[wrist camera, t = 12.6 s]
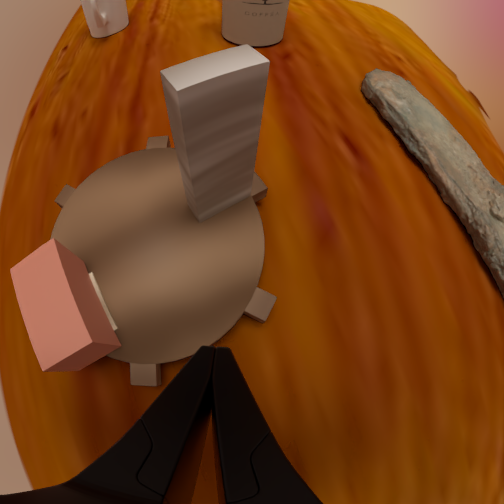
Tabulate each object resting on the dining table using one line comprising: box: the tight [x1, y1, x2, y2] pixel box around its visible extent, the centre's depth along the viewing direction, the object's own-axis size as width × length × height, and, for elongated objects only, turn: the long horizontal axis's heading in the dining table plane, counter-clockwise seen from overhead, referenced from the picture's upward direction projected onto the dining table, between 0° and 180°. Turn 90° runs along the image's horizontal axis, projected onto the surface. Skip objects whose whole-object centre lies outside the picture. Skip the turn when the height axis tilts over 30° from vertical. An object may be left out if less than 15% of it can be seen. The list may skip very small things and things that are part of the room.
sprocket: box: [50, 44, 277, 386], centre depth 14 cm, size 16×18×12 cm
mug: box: [81, 0, 129, 38], centre depth 25 cm, size 10×7×12 cm, turn 12°
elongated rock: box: [361, 68, 504, 299], centre depth 23 cm, size 35×5×10 cm
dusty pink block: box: [10, 238, 121, 371], centre depth 14 cm, size 4×6×4 cm, turn 33°
